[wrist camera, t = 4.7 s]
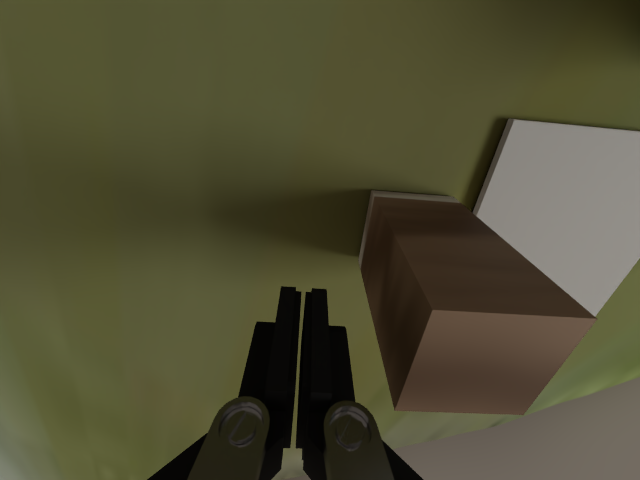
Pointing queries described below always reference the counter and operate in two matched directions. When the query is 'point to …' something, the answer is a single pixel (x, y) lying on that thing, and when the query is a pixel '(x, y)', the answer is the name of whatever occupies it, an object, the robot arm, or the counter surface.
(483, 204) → the mat
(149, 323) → the counter surface
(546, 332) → the block
